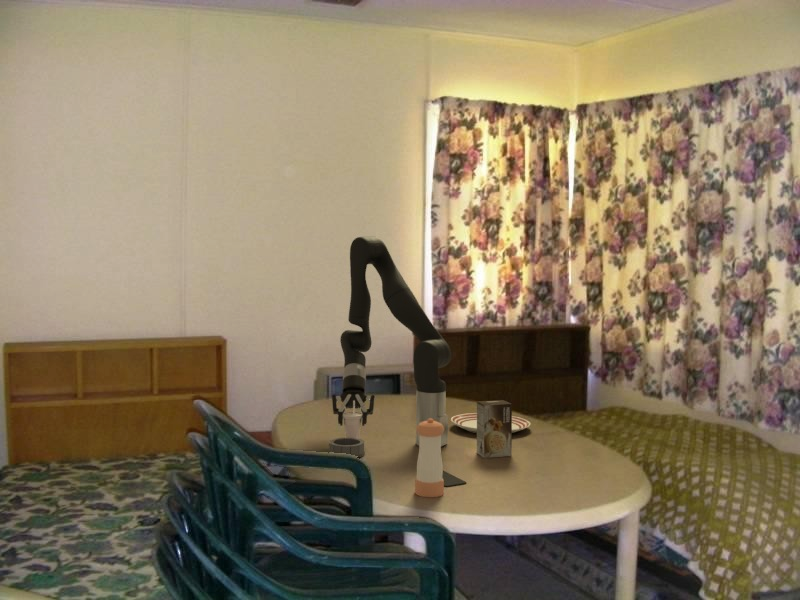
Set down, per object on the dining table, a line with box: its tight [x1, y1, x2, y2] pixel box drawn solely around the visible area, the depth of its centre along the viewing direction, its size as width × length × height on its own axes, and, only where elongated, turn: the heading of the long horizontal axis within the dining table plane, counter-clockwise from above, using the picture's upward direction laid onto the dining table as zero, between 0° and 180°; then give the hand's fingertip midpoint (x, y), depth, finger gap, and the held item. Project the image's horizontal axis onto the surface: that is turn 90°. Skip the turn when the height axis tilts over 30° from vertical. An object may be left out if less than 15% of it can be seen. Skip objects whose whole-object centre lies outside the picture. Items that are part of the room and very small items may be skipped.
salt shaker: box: [414, 418, 445, 498], centre depth 198 cm, size 7×7×19 cm
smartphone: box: [442, 470, 467, 488], centre depth 212 cm, size 7×1×15 cm
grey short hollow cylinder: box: [328, 437, 366, 458], centre depth 235 cm, size 11×11×4 cm
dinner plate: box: [450, 412, 532, 434], centre depth 270 cm, size 27×27×3 cm
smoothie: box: [343, 401, 362, 439], centre depth 246 cm, size 6×6×14 cm
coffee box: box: [476, 399, 513, 459], centre depth 236 cm, size 9×6×16 cm
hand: (352, 424), depth 245 cm, fingers closed on smoothie, 6 cm apart
